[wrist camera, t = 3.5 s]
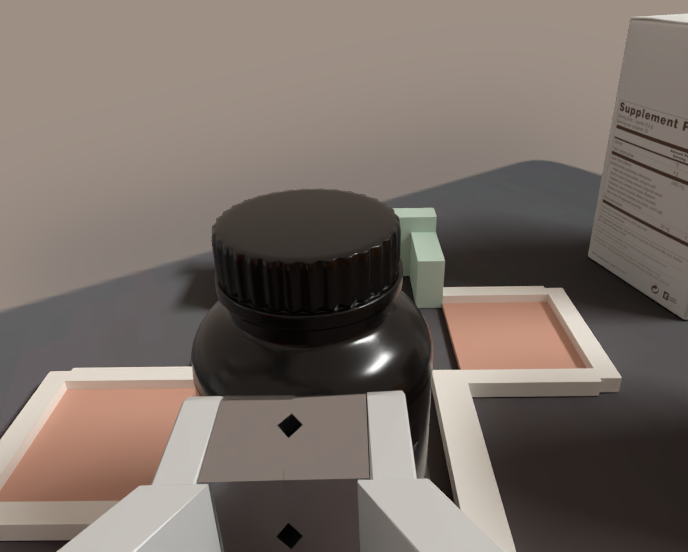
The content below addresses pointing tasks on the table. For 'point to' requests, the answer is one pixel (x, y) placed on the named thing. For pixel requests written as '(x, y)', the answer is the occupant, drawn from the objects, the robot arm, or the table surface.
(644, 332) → the table surface
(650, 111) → the supplement box
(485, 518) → the trap lane
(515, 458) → the table surface
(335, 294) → the supplement bottle
